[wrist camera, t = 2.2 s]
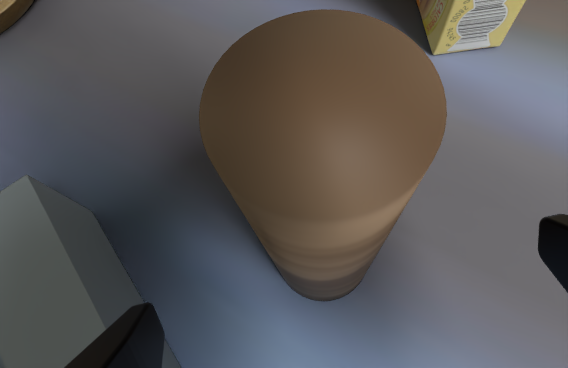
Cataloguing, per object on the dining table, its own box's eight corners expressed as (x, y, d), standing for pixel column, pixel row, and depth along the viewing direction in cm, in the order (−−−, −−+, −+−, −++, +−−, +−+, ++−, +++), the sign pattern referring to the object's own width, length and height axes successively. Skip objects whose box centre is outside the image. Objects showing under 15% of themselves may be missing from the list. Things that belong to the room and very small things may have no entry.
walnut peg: (346, 317, 18) (394, 265, 6) (262, 276, 19) (153, 159, 7) (381, 232, 19) (478, 45, 7) (300, 198, 20) (265, -14, 8)
